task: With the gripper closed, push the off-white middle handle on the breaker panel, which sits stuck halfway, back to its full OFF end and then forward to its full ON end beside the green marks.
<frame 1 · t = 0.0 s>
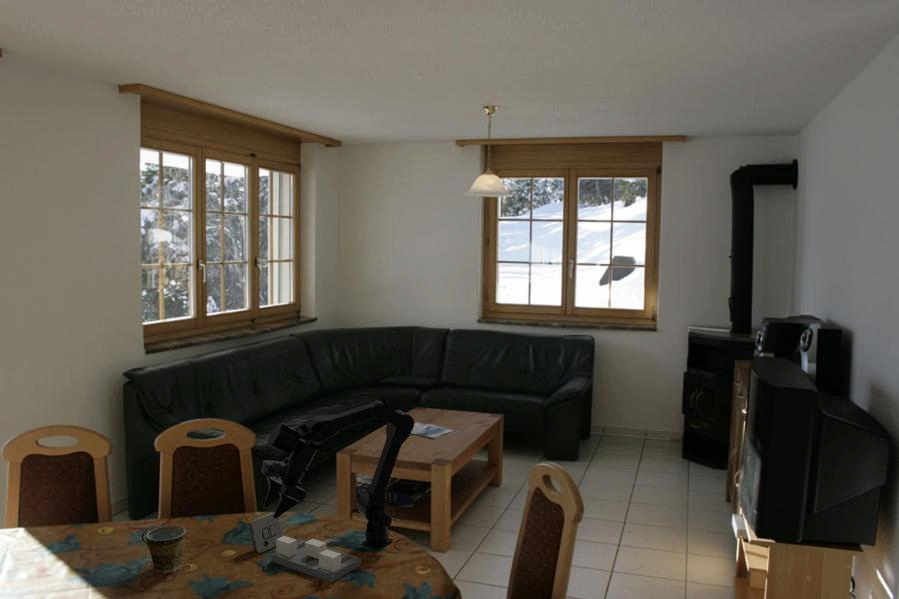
hand: (270, 512, 206), 15 cm above the table, tool tilted 35°, fingers open, 9 cm apart
tripped handle: (315, 548, 208), point 4 cm above the table, slide at 0.0 cm
electrical switch: (265, 547, 219), on the table
ceramic cup: (162, 568, 206), on the table
breaker panel: (315, 563, 209), on the table
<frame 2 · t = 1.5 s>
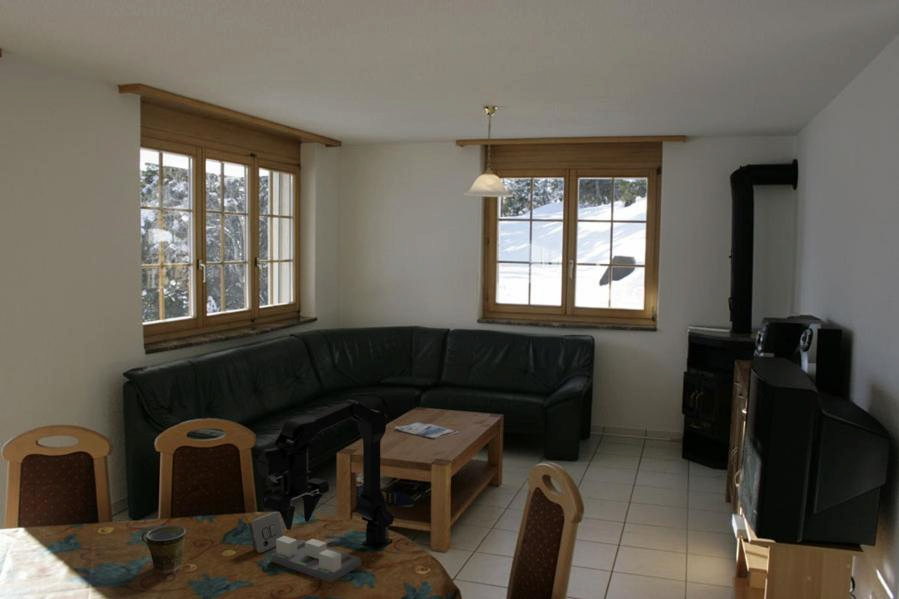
hand: (297, 525, 202), 13 cm above the table, tool pointing down, fingers open, 6 cm apart
nothing on the table moved.
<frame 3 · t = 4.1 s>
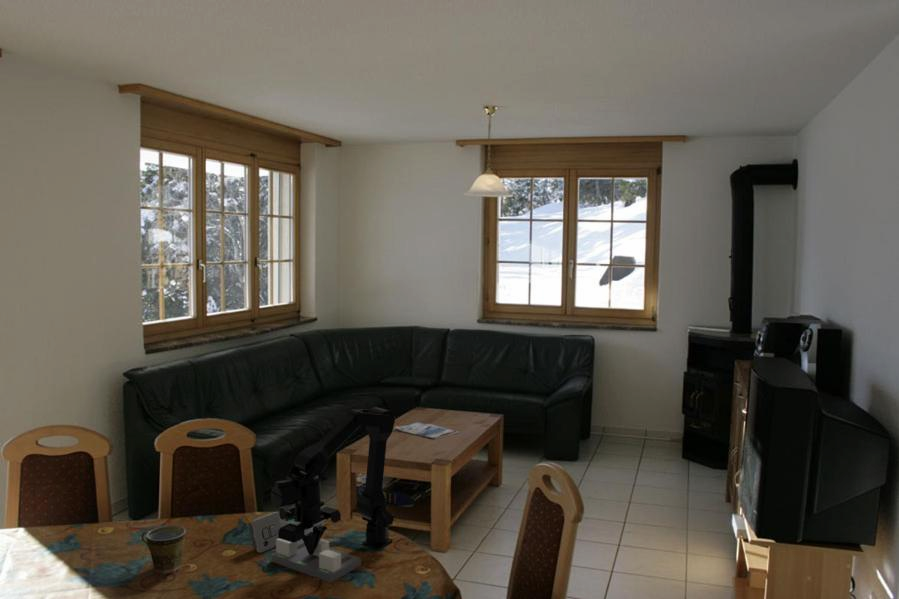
hand: (310, 554, 207), 3 cm above the table, tool pointing down, fingers closed
tripped handle: (318, 547, 209), point 4 cm above the table, slide at -1.2 cm, touching gripper
everything else where it was.
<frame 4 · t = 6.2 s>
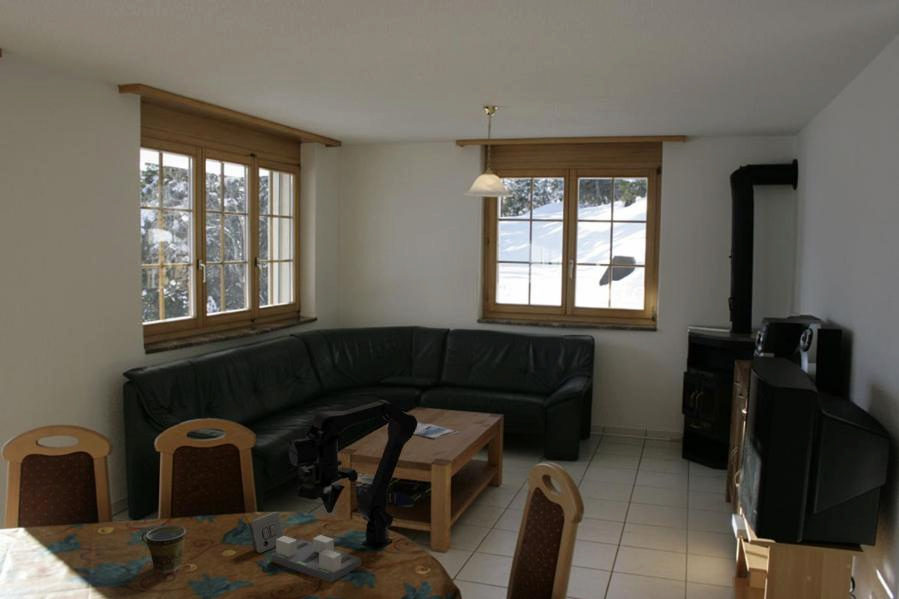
hand: (329, 512, 212), 13 cm above the table, tool pointing down, fingers closed
tripped handle: (323, 544, 211), point 4 cm above the table, slide at -3.1 cm
everything else where it was.
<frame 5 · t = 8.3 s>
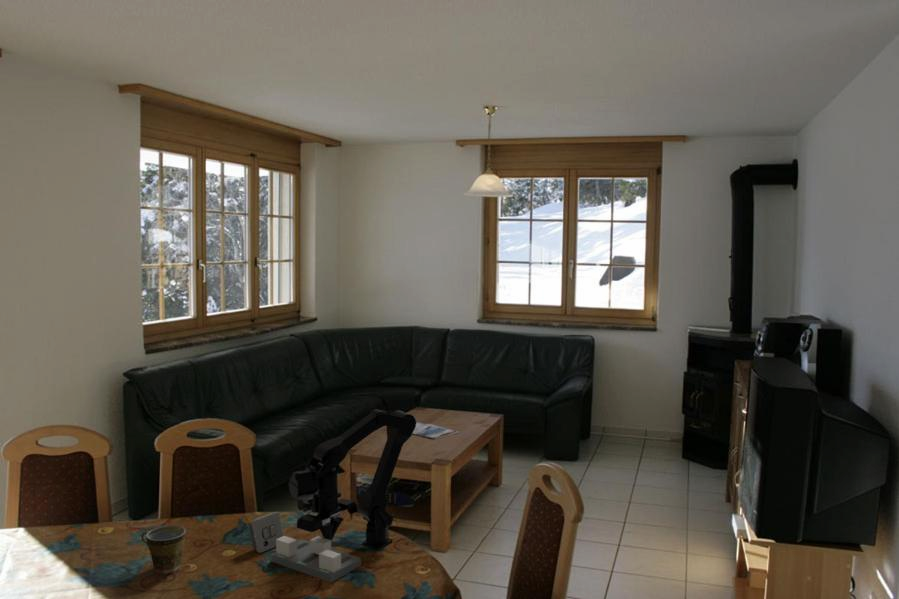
hand: (327, 544, 213), 4 cm above the table, tool pointing down, fingers closed
tripped handle: (320, 546, 210), point 4 cm above the table, slide at -2.0 cm, touching gripper
everything else where it was.
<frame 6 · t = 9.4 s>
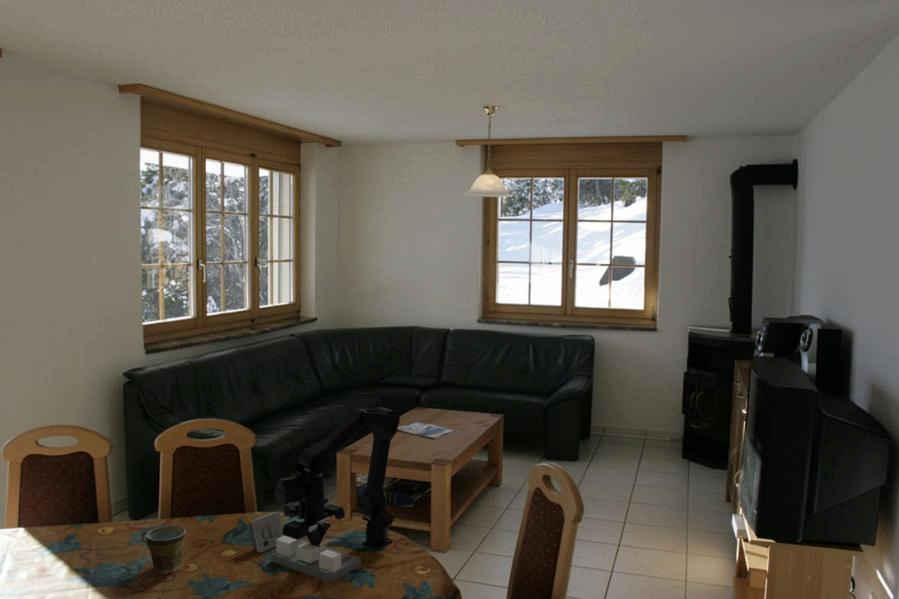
hand: (314, 550, 208), 4 cm above the table, tool pointing down, fingers closed
tripped handle: (307, 552, 206), point 4 cm above the table, slide at 3.1 cm, touching gripper
everything else where it was.
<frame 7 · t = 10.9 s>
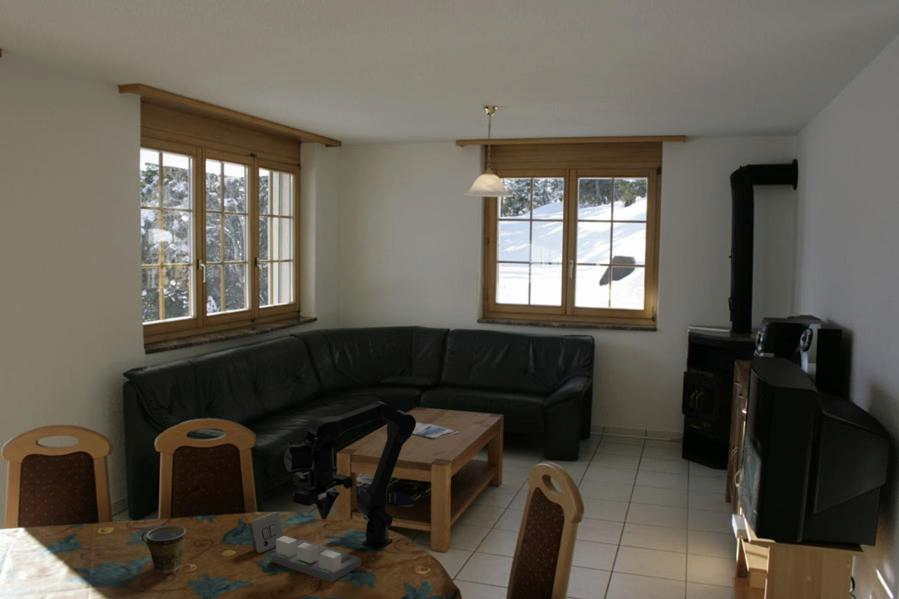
hand: (324, 519, 212), 11 cm above the table, tool pointing down, fingers closed
tripped handle: (307, 552, 206), point 4 cm above the table, slide at 3.1 cm
everything else where it was.
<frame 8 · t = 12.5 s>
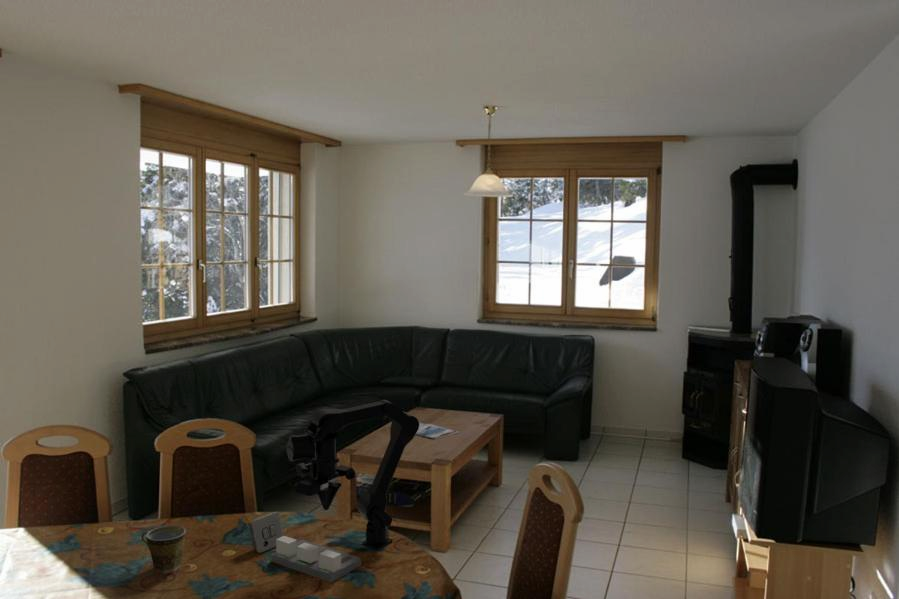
hand: (326, 509, 213), 13 cm above the table, tool pointing down, fingers closed
nothing on the table moved.
at the end: tripped handle slide at 3.1 cm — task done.
